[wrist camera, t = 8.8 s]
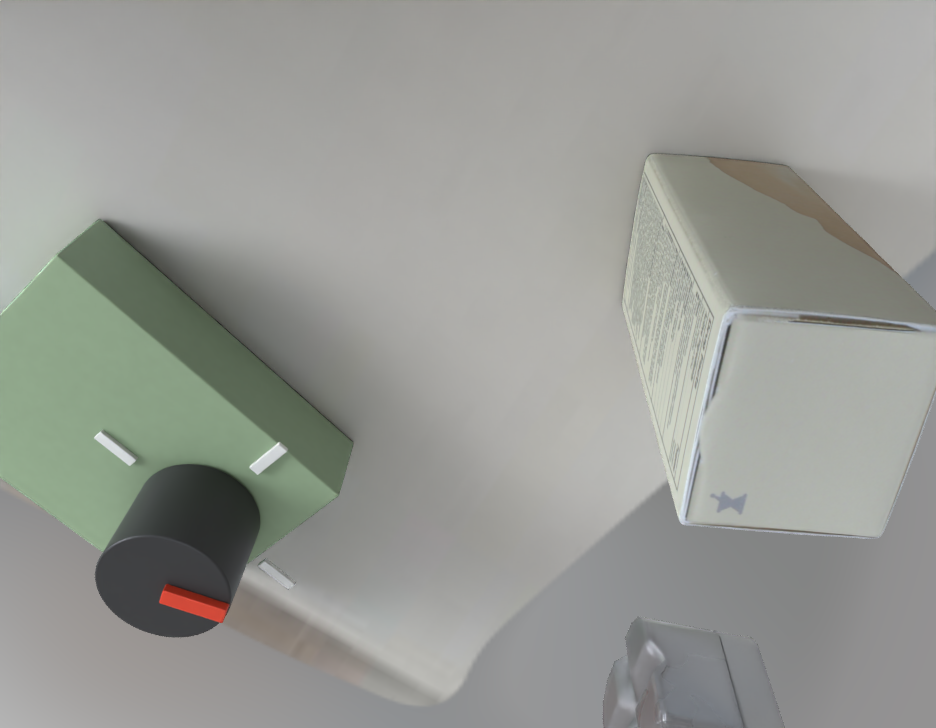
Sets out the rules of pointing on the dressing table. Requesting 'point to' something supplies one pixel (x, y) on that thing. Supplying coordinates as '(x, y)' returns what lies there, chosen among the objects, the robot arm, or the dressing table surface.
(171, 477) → the dimmer knob
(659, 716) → the robot arm
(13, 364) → the dimmer panel
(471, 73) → the dressing table surface
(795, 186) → the box
